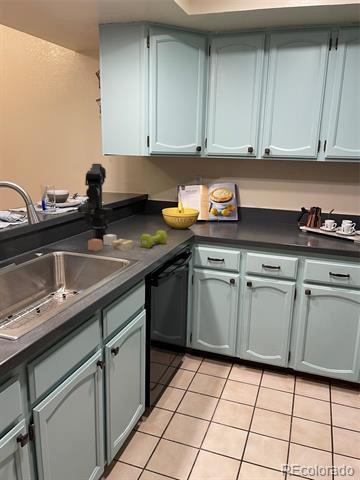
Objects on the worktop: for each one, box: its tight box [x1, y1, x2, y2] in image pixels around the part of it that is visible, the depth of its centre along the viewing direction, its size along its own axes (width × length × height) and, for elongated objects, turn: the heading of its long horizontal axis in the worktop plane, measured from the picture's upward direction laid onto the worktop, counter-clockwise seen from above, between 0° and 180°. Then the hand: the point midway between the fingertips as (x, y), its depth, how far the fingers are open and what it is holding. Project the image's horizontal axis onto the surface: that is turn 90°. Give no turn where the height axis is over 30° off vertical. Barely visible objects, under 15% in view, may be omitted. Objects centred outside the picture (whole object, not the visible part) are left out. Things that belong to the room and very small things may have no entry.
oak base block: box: [111, 238, 134, 252], centre depth 203 cm, size 8×8×4 cm
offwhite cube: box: [103, 233, 118, 247], centre depth 211 cm, size 5×5×5 cm
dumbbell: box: [139, 229, 168, 249], centre depth 211 cm, size 16×8×7 cm, turn 144°
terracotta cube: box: [87, 238, 103, 252], centre depth 199 cm, size 5×5×5 cm
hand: (95, 226), depth 197 cm, fingers open, 9 cm apart
